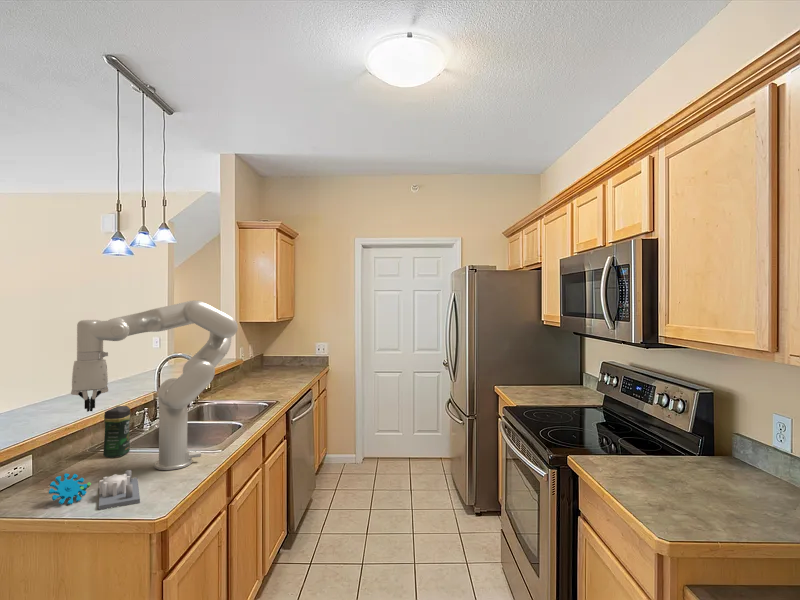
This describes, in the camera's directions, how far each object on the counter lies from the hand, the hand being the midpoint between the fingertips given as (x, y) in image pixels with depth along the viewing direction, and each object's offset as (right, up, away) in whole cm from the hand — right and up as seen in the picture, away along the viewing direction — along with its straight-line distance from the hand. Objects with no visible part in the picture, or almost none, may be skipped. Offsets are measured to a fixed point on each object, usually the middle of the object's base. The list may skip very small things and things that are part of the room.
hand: (89, 410), depth 167 cm
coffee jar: (-6, -23, +26) cm, 36 cm away
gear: (+5, -24, -18) cm, 30 cm away
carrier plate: (+17, -23, -13) cm, 32 cm away
